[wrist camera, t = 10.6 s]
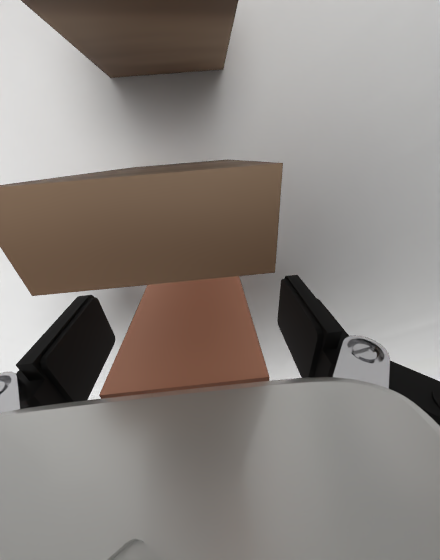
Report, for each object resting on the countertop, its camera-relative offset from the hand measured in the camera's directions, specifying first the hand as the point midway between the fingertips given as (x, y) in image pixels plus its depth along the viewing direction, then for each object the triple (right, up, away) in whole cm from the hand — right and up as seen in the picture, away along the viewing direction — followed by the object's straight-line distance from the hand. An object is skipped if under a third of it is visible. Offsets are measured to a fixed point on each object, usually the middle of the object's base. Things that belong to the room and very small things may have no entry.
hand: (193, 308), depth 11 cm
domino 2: (0, +2, +4) cm, 4 cm away
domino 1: (-1, +7, +1) cm, 7 cm away
